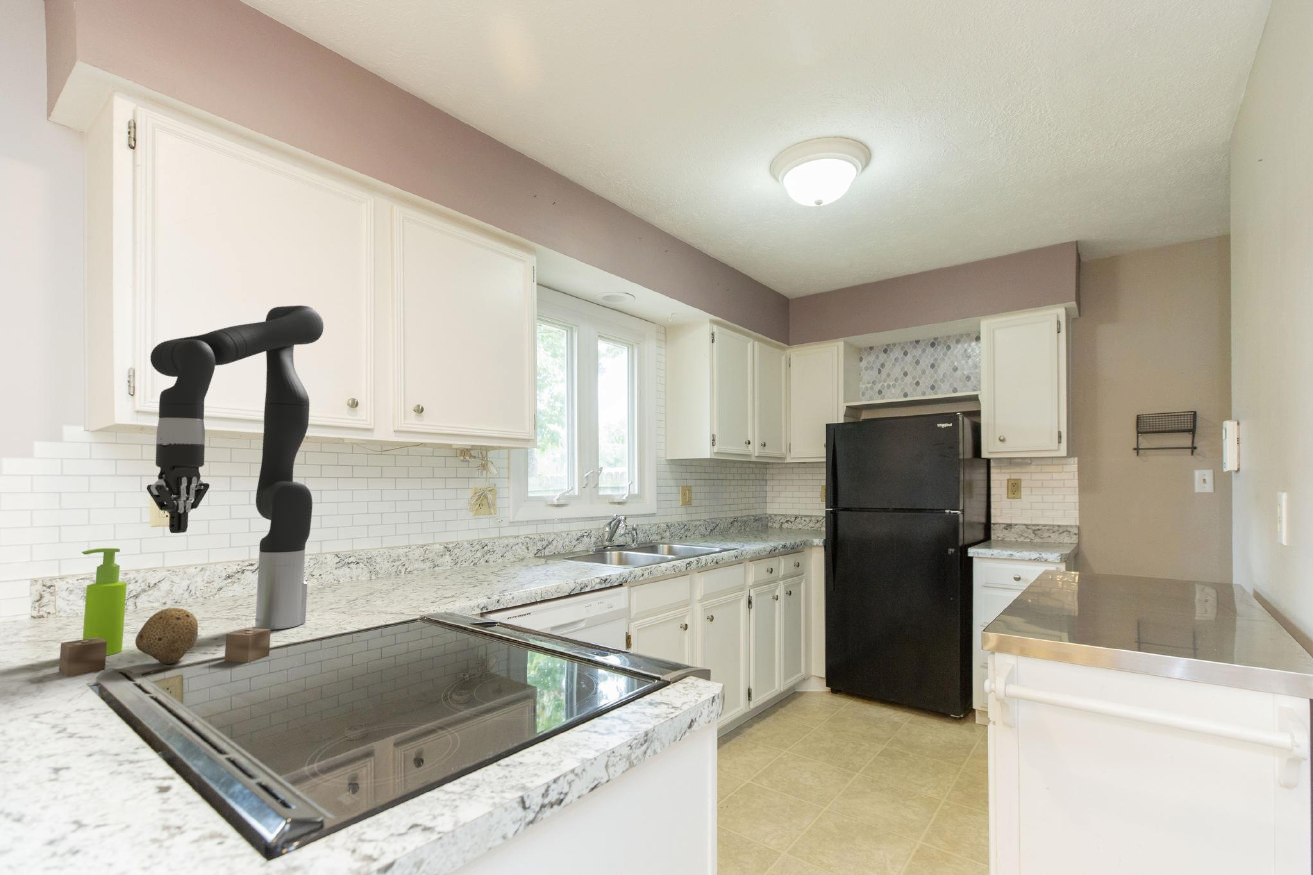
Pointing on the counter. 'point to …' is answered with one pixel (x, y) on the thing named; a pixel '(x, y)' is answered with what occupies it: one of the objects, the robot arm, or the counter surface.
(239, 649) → the walnut block two pips
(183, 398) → the robot arm
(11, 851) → the counter surface
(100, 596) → the soap dispenser
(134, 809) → the counter surface
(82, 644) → the walnut block three pips
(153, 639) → the natural sponge
